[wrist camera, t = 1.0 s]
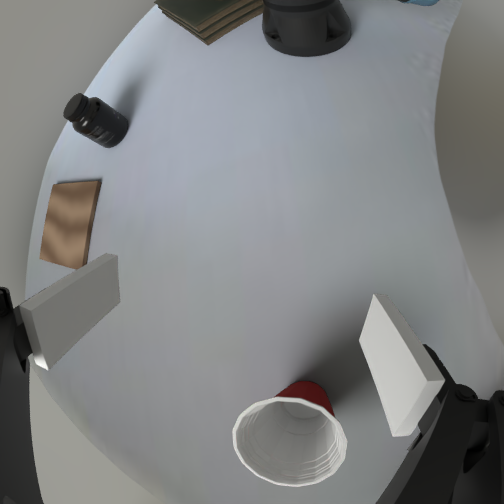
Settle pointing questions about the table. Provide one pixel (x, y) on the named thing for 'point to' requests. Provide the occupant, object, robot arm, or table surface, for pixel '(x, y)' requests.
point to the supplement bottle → (96, 120)
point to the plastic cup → (291, 437)
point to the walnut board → (69, 223)
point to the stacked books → (210, 15)
